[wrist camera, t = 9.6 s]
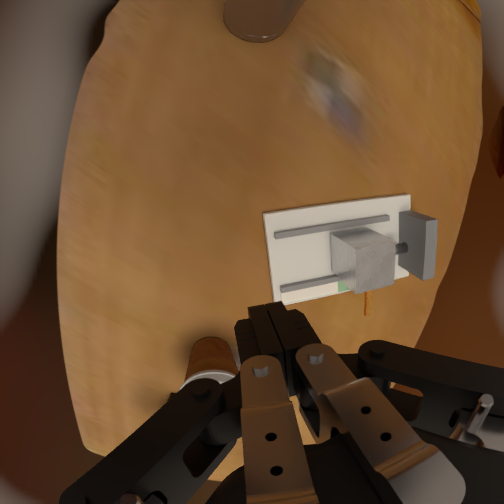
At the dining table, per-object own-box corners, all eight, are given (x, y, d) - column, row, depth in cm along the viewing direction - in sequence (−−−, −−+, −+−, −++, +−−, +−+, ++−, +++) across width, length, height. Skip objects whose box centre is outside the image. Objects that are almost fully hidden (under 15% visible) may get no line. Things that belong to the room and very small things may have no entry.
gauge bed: (262, 213, 41) (275, 225, 33) (405, 193, 43) (438, 202, 36) (273, 303, 45) (286, 331, 38) (404, 273, 48) (432, 291, 40)
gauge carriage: (330, 233, 42) (355, 249, 34) (392, 222, 43) (424, 235, 35) (332, 301, 45) (354, 327, 38) (391, 286, 46) (418, 307, 39)
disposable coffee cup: (250, 339, 47) (263, 389, 36) (226, 380, 49) (232, 431, 37) (194, 319, 44) (192, 369, 33) (174, 364, 46) (169, 415, 35)
